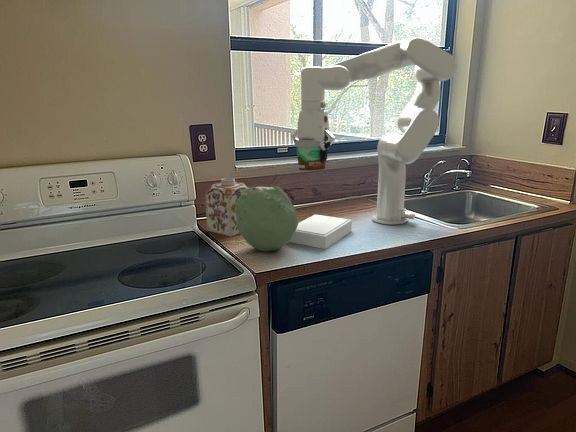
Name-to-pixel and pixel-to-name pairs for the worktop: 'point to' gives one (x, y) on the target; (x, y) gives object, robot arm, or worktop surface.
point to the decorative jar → (223, 206)
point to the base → (321, 231)
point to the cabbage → (265, 217)
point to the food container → (309, 155)
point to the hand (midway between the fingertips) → (312, 160)
